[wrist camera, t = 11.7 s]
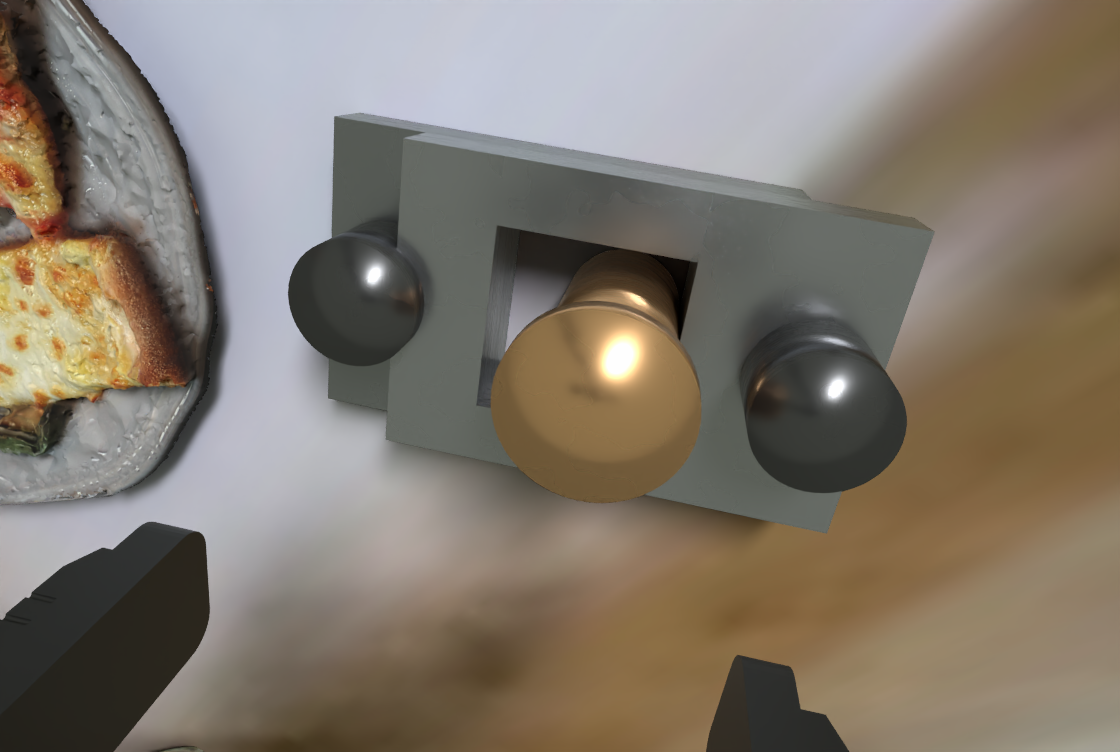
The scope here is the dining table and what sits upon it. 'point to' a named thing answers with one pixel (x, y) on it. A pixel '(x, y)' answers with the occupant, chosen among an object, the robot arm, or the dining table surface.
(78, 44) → the food plate
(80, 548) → the dining table surface
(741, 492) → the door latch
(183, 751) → the soupspoon
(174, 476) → the dining table surface
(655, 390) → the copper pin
